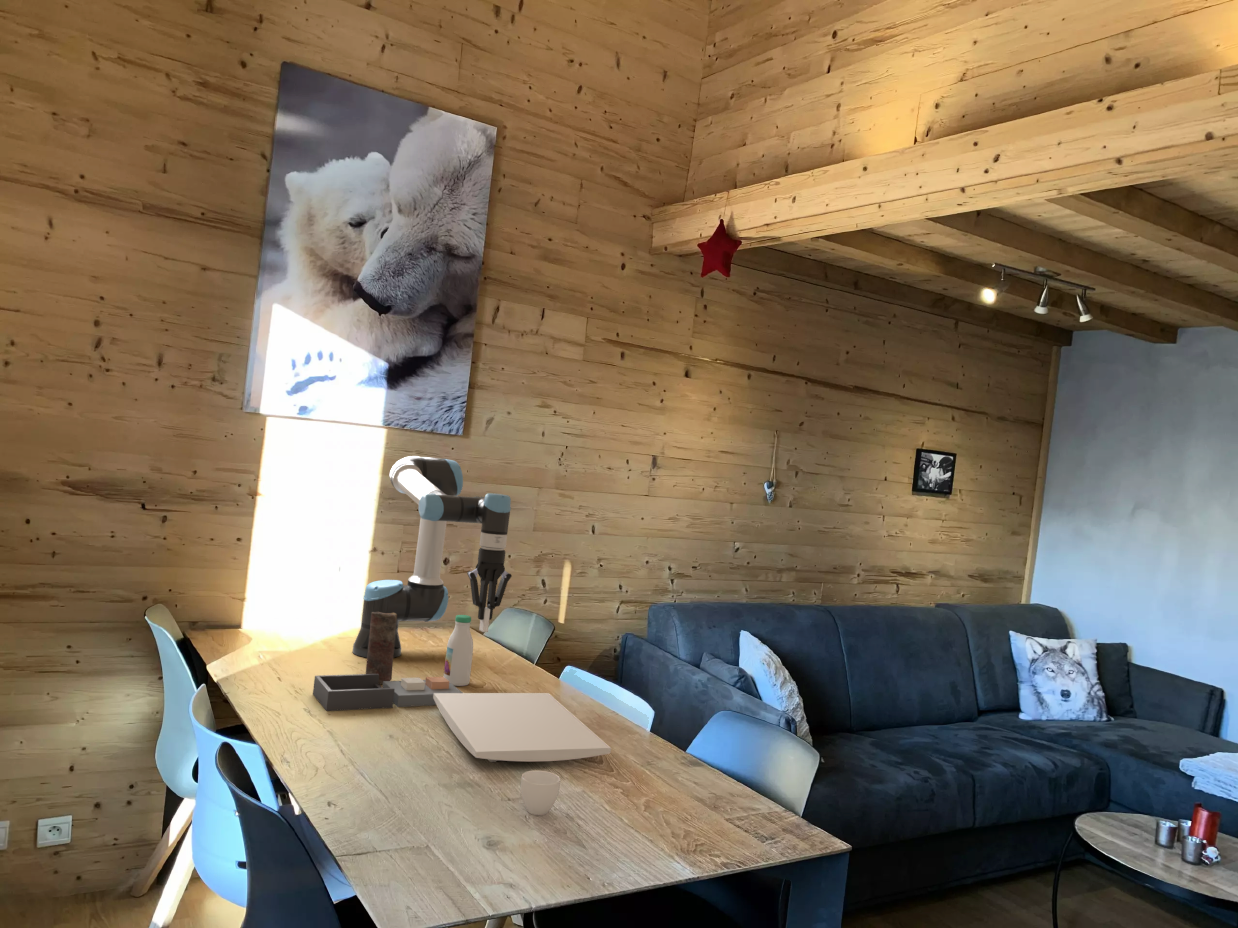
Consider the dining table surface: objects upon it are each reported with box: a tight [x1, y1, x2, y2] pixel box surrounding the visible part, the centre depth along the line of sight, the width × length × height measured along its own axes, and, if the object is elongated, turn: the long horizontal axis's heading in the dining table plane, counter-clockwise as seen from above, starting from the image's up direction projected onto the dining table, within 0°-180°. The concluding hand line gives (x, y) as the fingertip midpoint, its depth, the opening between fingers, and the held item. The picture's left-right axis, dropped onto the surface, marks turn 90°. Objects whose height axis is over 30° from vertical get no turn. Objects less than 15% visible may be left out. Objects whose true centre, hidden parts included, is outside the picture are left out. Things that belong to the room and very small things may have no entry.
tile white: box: [400, 676, 425, 690], centre depth 245 cm, size 5×5×2 cm
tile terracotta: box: [425, 676, 449, 689], centre depth 249 cm, size 5×5×2 cm
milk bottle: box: [443, 614, 474, 687], centre depth 266 cm, size 8×8×20 cm
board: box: [433, 692, 612, 763], centre depth 223 cm, size 45×32×5 cm
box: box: [312, 673, 395, 712], centre depth 237 cm, size 15×17×5 cm
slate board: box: [382, 679, 464, 708], centre depth 247 cm, size 14×18×3 cm
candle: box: [365, 612, 397, 685], centre depth 259 cm, size 8×7×20 cm
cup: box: [520, 769, 561, 816], centre depth 180 cm, size 8×10×7 cm
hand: (483, 630), depth 255 cm, fingers closed
